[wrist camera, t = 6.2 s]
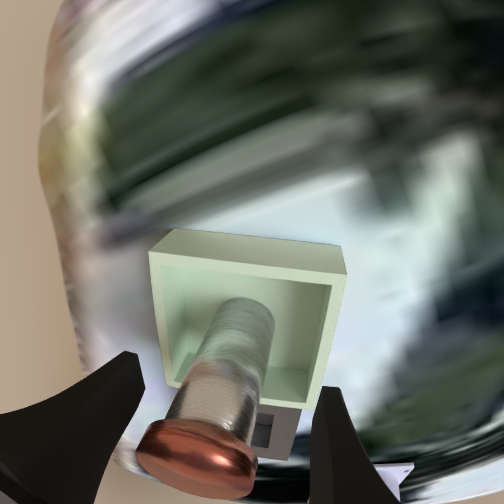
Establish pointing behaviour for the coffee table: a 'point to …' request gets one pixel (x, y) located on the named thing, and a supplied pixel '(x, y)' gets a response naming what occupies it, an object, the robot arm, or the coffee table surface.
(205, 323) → the tray
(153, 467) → the lock pin
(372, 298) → the coffee table surface
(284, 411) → the block
